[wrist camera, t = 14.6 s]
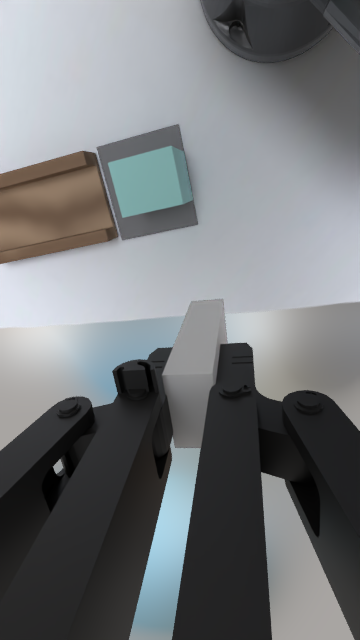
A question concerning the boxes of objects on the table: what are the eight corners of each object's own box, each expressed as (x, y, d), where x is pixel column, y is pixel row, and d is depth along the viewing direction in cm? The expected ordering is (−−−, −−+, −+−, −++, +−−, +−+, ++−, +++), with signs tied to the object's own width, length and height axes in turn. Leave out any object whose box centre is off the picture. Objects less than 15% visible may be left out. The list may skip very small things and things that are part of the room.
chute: (-22, 185, 44) (-43, 186, 41) (95, 153, 40) (82, 150, 37) (7, 260, 47) (-9, 265, 44) (118, 236, 44) (108, 241, 40)
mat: (97, 147, 40) (96, 147, 40) (178, 124, 38) (178, 124, 37) (122, 239, 44) (122, 240, 43) (197, 224, 41) (197, 224, 41)
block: (130, 165, 39) (107, 162, 32) (183, 151, 38) (171, 145, 31) (142, 211, 41) (122, 217, 34) (193, 199, 39) (183, 204, 33)
